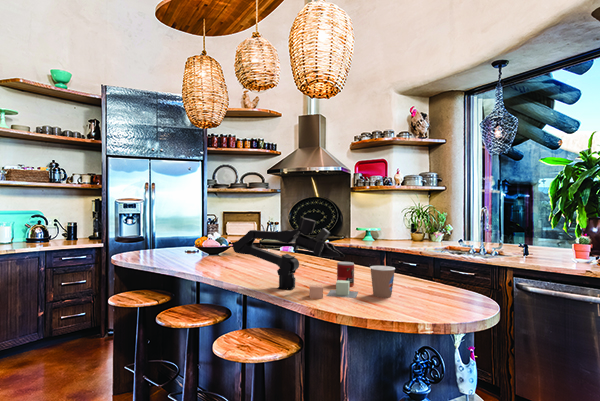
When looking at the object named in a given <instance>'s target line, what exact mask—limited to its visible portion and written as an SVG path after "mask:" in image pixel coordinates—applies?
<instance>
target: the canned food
mask: <svg viewBox="0 0 600 401" xmlns="http://www.w3.org/2000/svg"><path fill="white" fill-rule="evenodd" d="M336 267H337V268H336V282H337V281H338V280H343V281H350V287H349V288H352V287H354V286H355V263H354V262H353V261H352V262H351V261H338V262H337V263H336Z"/></svg>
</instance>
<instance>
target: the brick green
mask: <svg viewBox="0 0 600 401" xmlns="http://www.w3.org/2000/svg"><path fill="white" fill-rule="evenodd" d="M350 288H351V287H350V281H343V280H338V281H337V280H336V281H335V290H336V295H349V291H350Z"/></svg>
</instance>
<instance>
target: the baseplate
mask: <svg viewBox="0 0 600 401" xmlns="http://www.w3.org/2000/svg"><path fill="white" fill-rule="evenodd" d="M358 295H359V291H354V290H349V295H336V289H330V290H329V291H328V293H327V294H326V297H332V298H333V297H334V298H346V299H347V298H348V299H349V298H351V299H357V296H358Z"/></svg>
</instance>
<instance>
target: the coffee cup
mask: <svg viewBox="0 0 600 401" xmlns="http://www.w3.org/2000/svg"><path fill="white" fill-rule="evenodd" d="M369 269H370V275H371V287H372V293H373V297H377V298H384V299H385V298H391V297H392V294H393V288H394V287H393V285H394V278H395V270H396V268H395V267H394V266H388V265H371V266H369Z"/></svg>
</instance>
